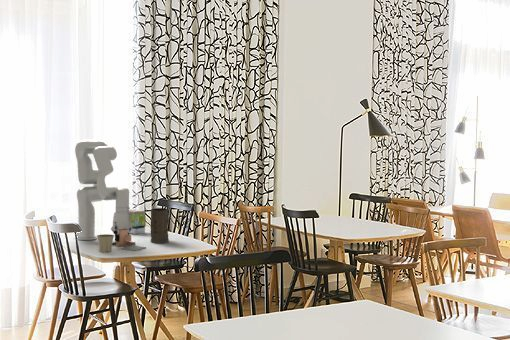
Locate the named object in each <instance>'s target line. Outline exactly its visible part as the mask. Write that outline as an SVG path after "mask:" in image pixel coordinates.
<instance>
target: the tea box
mask: <svg viewBox="0 0 510 340" xmlns="http://www.w3.org/2000/svg"><path fill="white" fill-rule="evenodd" d="M129 212H130V220H131V224H132V225H133V227H132V229H131V231H130V233H129V235H132V234H133V235H138V234H144V233H146V211H145V210H143V209H142V210H140V209H129Z"/></svg>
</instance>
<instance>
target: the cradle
mask: <svg viewBox="0 0 510 340" xmlns="http://www.w3.org/2000/svg"><path fill="white" fill-rule="evenodd" d="M113 246H116V241H113V242H112V247H113ZM128 246H136V241H130V242H129V241H128V244H124V246H123V248H124V247H128Z"/></svg>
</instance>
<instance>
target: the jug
mask: <svg viewBox="0 0 510 340" xmlns="http://www.w3.org/2000/svg"><path fill="white" fill-rule="evenodd" d="M117 231H118V230H117ZM118 235H119V242H117V241H115V242H116V245H115V246H116V247H124V244H128V241H129V242H132V234H129V235H128V229H123V230H120V232H119V234H118Z"/></svg>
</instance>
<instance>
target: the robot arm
mask: <svg viewBox="0 0 510 340" xmlns="http://www.w3.org/2000/svg"><path fill="white" fill-rule="evenodd" d="M74 153H75V158H76V161H77V178H78V181H79V183H80V184H81V185H91V186H82V187H79V189H78V190H77V191H76V199H77V205H78V209H77V210H78V223H77V224H78V225H79V226H80V227H81V229H82V232H80V233H77V234H76V236H78V239H77V240H79V241H90V240H91V241H92V240H98V238H97V235H95V233H96V232H95V224H96V223H95V219H96V218H95V217H96V215H95V214H96V213H95V206H94V205H93V203H95V202H101V201H115V212H114V214H113V218H112V226H111V227H110V230H111V231H112V233H113V235H114V242H116V241H117V242H119V235H118V234H119V232H120V230H123V229H128V235H130V231H131V229H132V227H133V225H132V224H131V220H130V212H129V209H130V190H129V188H126V187H121V186H110V187H109V186H108V187H107V185H106V180H105V179H106V177H107V176H108V175H110V174H112V173H113V172H114V165H113V164H112V161H114V160H116V158H117V155H118V154H117V150H116V148H115V147H114V146H113V145H111V144H109V143H108V142H106V141H104V140H101V139H83V140H80V141H78V142H77V143H76V145H75V148H74ZM90 155H93V158H94V161H95V165H96V166H97V167H96V168H94V167H93V162H92V159H91V157H90ZM117 230H118V231H117Z"/></svg>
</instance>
